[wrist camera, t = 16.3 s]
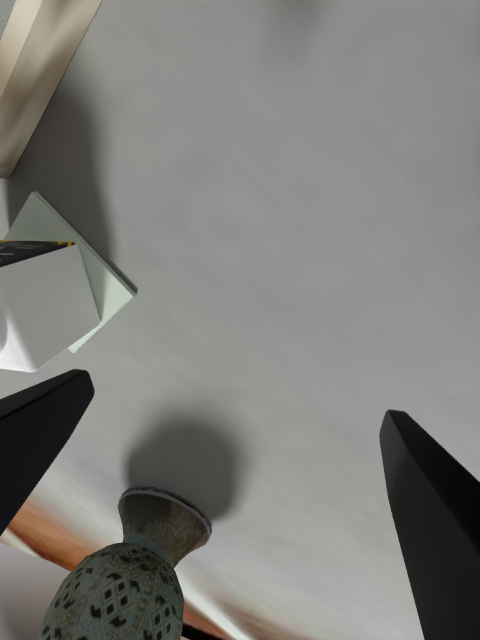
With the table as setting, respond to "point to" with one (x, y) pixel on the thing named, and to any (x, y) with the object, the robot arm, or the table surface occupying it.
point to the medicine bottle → (42, 302)
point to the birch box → (35, 66)
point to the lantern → (131, 575)
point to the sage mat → (105, 283)
